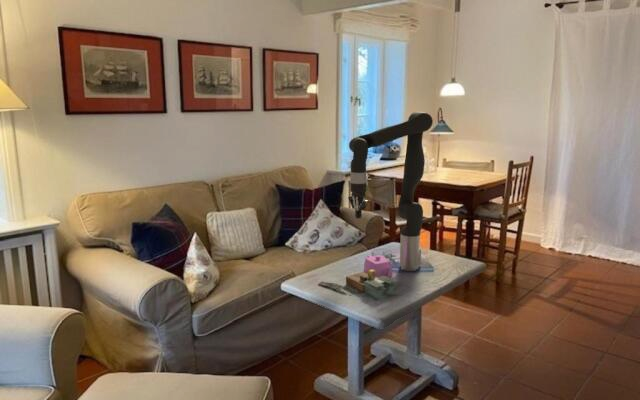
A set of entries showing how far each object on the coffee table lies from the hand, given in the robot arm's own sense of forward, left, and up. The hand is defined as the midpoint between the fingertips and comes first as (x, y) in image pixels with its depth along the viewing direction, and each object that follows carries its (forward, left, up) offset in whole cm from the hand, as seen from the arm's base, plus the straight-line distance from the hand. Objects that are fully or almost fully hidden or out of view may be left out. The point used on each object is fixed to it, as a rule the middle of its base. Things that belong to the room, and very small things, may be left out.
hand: (358, 217), depth 229 cm
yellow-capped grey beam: (+8, +23, -23) cm, 34 cm away
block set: (+8, +20, -27) cm, 34 cm away
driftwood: (+20, +10, -28) cm, 36 cm away
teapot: (-4, +10, -27) cm, 29 cm away
